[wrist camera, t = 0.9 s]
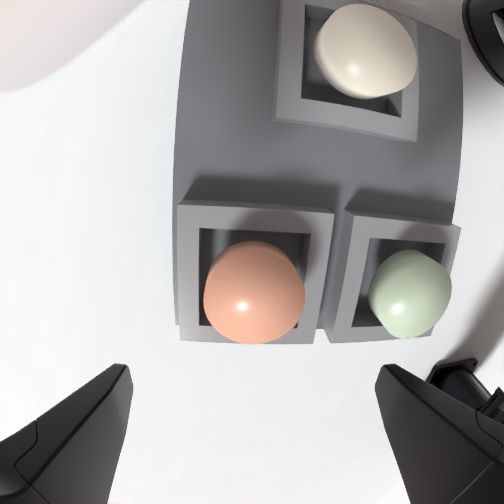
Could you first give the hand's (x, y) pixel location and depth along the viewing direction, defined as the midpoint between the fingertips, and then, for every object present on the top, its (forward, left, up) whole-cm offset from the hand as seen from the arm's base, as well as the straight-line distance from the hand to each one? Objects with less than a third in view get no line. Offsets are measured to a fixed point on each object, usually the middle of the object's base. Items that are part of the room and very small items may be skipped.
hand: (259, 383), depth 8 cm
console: (-4, -6, -11) cm, 13 cm away
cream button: (-4, -11, -6) cm, 14 cm away
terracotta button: (0, 0, -6) cm, 6 cm away
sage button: (-8, 0, -6) cm, 10 cm away
